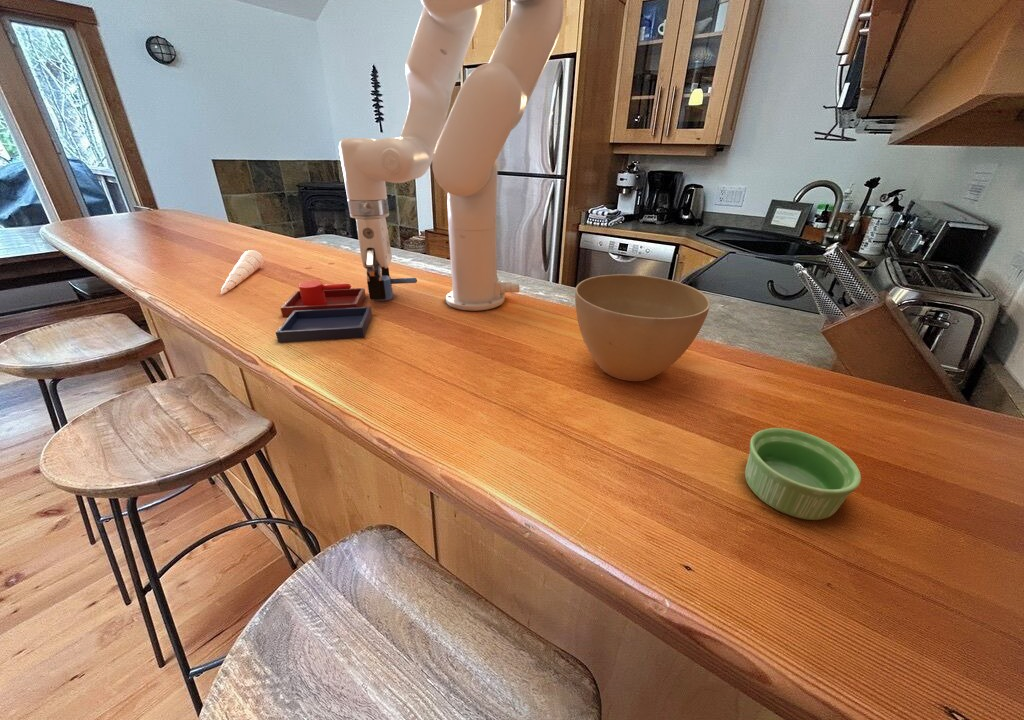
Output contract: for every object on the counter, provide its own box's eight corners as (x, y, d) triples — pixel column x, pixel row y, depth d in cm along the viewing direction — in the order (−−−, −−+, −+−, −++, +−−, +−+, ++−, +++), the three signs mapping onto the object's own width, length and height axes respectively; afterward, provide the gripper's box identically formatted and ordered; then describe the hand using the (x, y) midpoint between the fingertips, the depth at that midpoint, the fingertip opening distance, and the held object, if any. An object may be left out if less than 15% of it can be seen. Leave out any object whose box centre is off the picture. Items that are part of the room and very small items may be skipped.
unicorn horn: (203, 297, 90) (195, 275, 88) (247, 267, 111) (242, 249, 109) (226, 296, 91) (219, 274, 89) (266, 267, 112) (261, 249, 109)
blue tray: (372, 315, 81) (370, 306, 80) (363, 337, 72) (362, 327, 72) (296, 319, 79) (293, 310, 78) (278, 342, 71) (275, 332, 70)
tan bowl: (601, 410, 53) (613, 324, 48) (552, 349, 69) (557, 278, 63) (718, 390, 58) (742, 309, 52) (648, 337, 73) (660, 270, 67)
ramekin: (819, 543, 36) (838, 508, 34) (721, 482, 42) (732, 449, 40) (857, 497, 41) (876, 463, 38) (764, 448, 47) (776, 417, 45)
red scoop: (355, 299, 88) (352, 279, 86) (352, 306, 85) (348, 285, 83) (307, 301, 87) (302, 281, 85) (301, 309, 83) (295, 288, 81)
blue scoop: (419, 292, 94) (417, 273, 91) (418, 299, 90) (416, 279, 88) (374, 294, 92) (370, 275, 90) (371, 301, 88) (367, 281, 86)
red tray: (365, 296, 91) (364, 287, 90) (357, 313, 83) (356, 304, 82) (298, 299, 89) (296, 290, 89) (282, 317, 81) (280, 307, 80)
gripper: (383, 215, 75) (394, 305, 83) (392, 202, 90) (401, 279, 98) (340, 216, 74) (356, 306, 82) (356, 202, 89) (368, 280, 97)
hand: (380, 291), depth 90 cm, fingers open, 8 cm apart
